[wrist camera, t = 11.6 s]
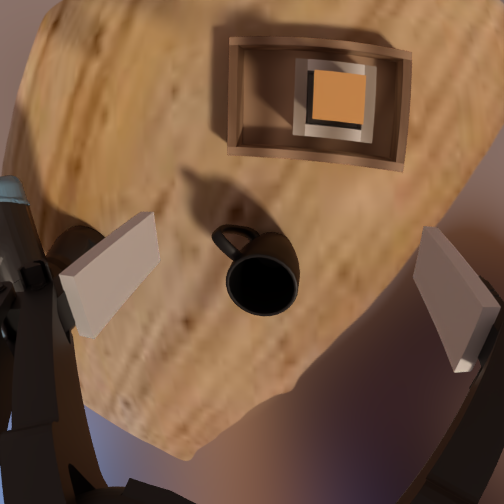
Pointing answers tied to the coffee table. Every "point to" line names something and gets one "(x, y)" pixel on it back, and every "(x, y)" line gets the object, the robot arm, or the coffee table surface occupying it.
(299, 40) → the box
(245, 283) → the mug
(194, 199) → the coffee table surface
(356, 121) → the connector
